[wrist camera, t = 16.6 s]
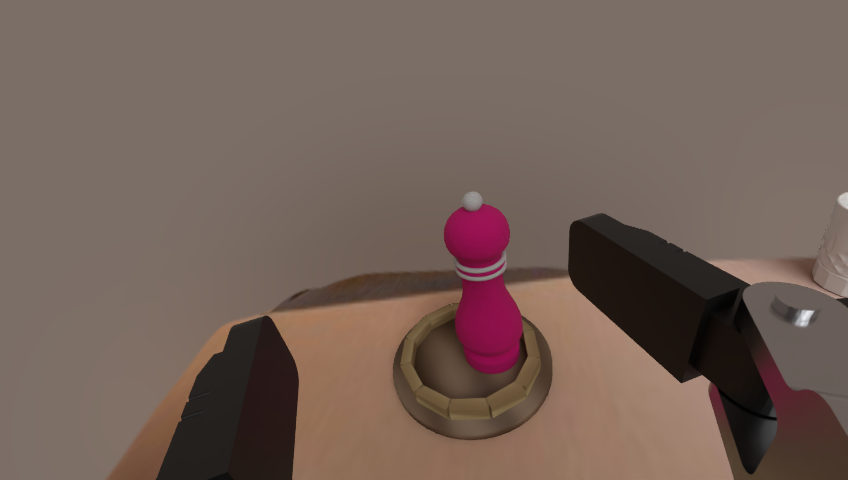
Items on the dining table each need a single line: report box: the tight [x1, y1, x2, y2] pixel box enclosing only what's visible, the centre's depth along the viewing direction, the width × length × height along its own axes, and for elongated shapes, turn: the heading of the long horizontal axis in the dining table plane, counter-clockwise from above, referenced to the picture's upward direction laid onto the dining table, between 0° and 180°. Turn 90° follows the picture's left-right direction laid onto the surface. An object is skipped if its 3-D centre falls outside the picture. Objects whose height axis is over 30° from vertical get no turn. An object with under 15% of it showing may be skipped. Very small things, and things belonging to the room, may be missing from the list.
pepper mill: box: [444, 192, 523, 374], centre depth 35 cm, size 7×7×20 cm
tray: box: [393, 303, 552, 440], centre depth 39 cm, size 18×18×2 cm
